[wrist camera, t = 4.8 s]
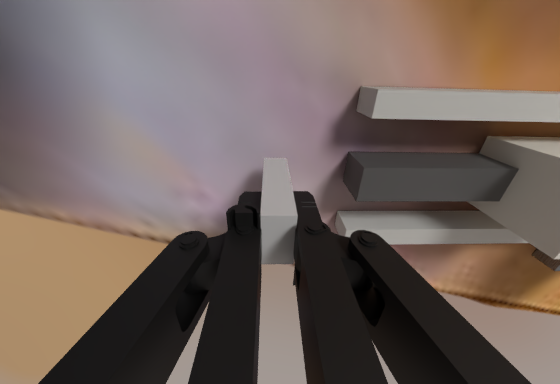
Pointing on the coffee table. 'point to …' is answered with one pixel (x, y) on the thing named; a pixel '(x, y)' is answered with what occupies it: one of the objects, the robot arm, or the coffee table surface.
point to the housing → (547, 260)
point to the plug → (474, 183)
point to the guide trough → (444, 107)
